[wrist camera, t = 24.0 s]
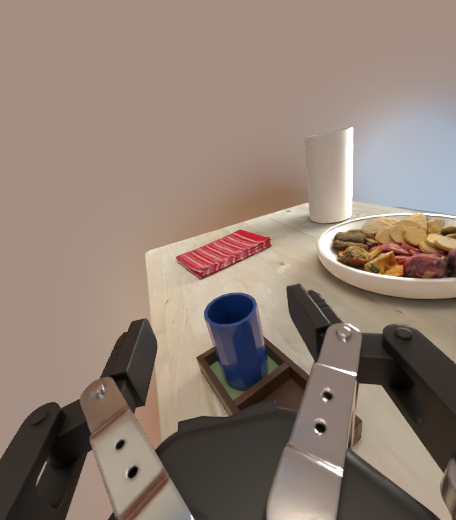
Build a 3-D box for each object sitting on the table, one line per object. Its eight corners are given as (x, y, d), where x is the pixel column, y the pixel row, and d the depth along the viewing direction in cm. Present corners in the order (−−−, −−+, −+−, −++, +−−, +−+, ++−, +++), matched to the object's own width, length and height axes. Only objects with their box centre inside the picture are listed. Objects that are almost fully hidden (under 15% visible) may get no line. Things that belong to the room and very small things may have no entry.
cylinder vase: (352, 210, 79) (353, 126, 68) (351, 223, 69) (352, 127, 59) (312, 213, 85) (308, 136, 74) (306, 225, 75) (301, 139, 65)
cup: (238, 401, 27) (219, 335, 23) (215, 367, 32) (195, 308, 28) (278, 372, 29) (267, 307, 25) (250, 344, 34) (238, 287, 30)
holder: (290, 514, 19) (287, 498, 18) (200, 370, 33) (196, 357, 32) (361, 437, 22) (362, 420, 21) (252, 337, 37) (250, 324, 35)
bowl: (294, 253, 59) (291, 224, 56) (403, 224, 61) (406, 194, 58) (389, 333, 32) (394, 284, 29) (579, 275, 34) (604, 224, 31)
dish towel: (274, 245, 66) (273, 236, 65) (201, 280, 56) (198, 271, 55) (240, 234, 80) (238, 227, 79) (176, 261, 70) (173, 253, 69)
